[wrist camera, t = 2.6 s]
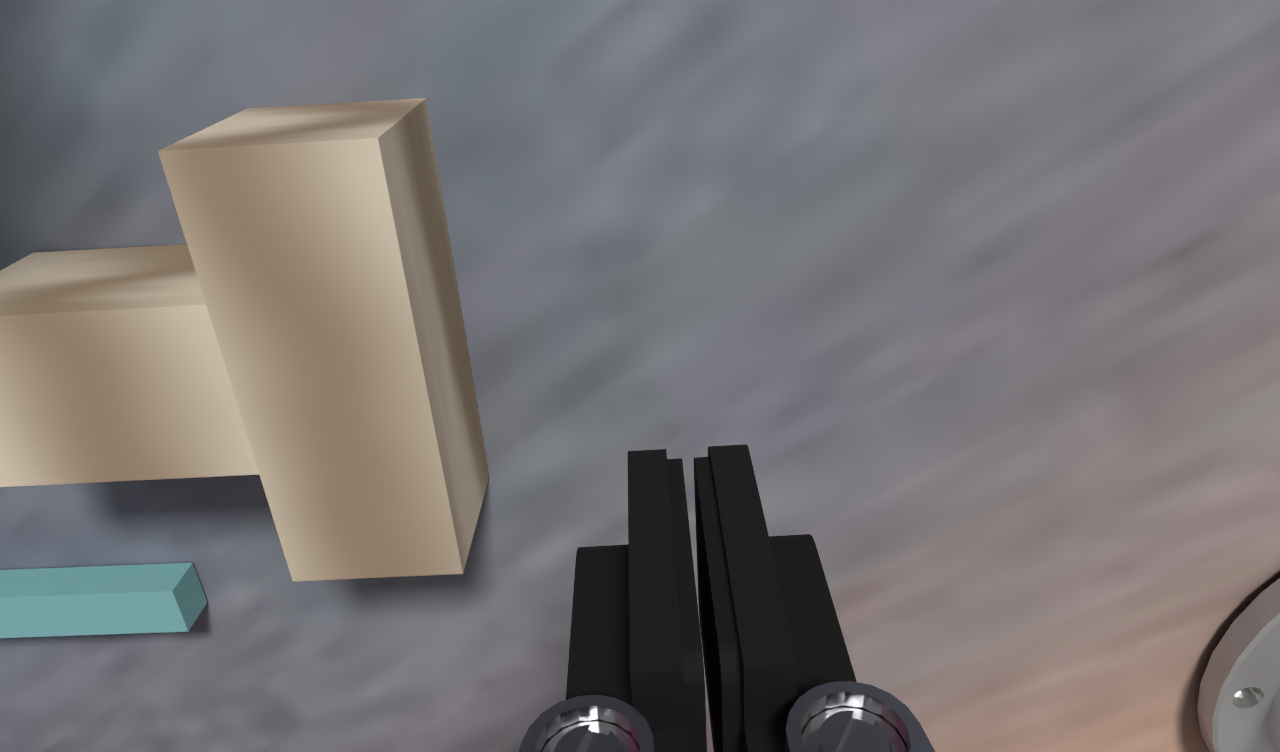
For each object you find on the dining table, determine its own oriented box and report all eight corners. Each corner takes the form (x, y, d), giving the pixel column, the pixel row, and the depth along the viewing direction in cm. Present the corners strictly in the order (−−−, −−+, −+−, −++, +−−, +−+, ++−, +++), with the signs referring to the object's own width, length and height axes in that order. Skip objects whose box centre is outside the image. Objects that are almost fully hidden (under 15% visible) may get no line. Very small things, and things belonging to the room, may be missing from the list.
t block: (426, 97, 19) (377, 137, 16) (489, 476, 24) (462, 573, 20) (-19, 124, 19) (-166, 170, 16) (129, 493, 24) (40, 592, 20)
